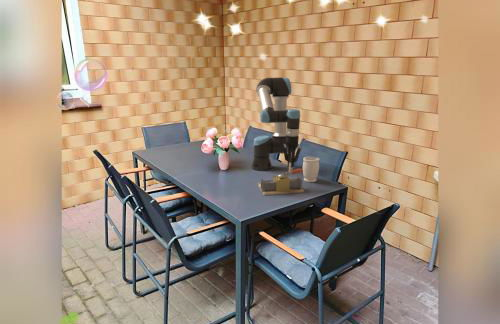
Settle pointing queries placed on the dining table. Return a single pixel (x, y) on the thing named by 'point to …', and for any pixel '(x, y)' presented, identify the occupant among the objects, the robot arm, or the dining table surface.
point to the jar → (310, 168)
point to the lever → (290, 172)
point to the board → (280, 191)
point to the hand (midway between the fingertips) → (290, 172)
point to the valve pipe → (281, 184)
